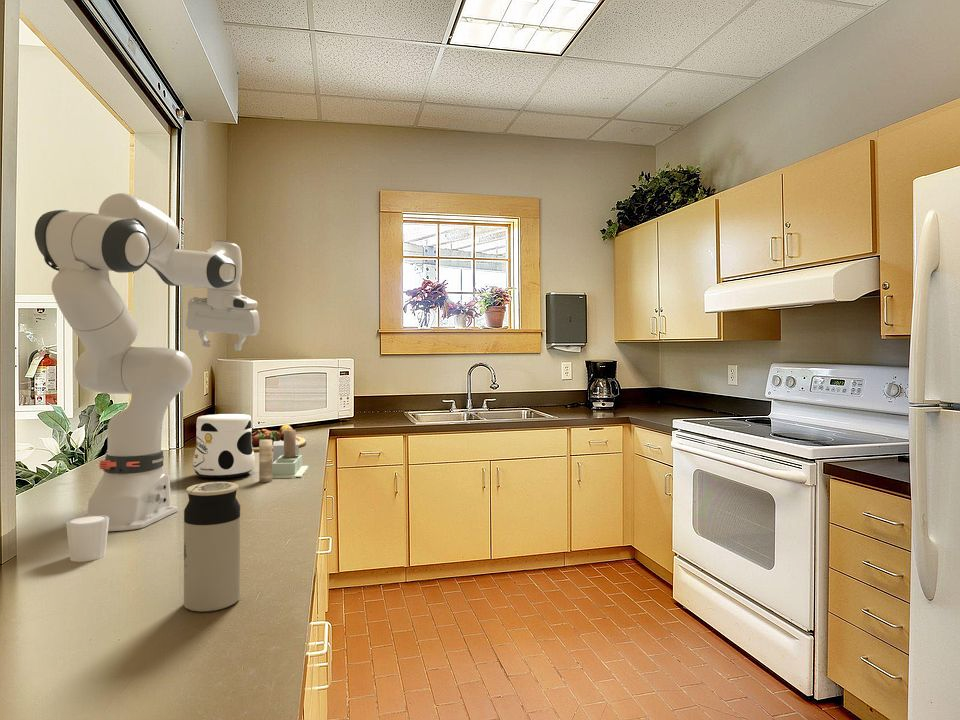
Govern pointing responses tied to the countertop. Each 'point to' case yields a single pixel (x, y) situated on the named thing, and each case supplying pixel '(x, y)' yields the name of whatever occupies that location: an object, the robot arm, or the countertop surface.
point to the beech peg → (265, 460)
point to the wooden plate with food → (273, 437)
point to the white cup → (87, 537)
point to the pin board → (289, 459)
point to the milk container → (223, 446)
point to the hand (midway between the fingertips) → (221, 348)
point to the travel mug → (211, 547)
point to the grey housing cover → (281, 449)
